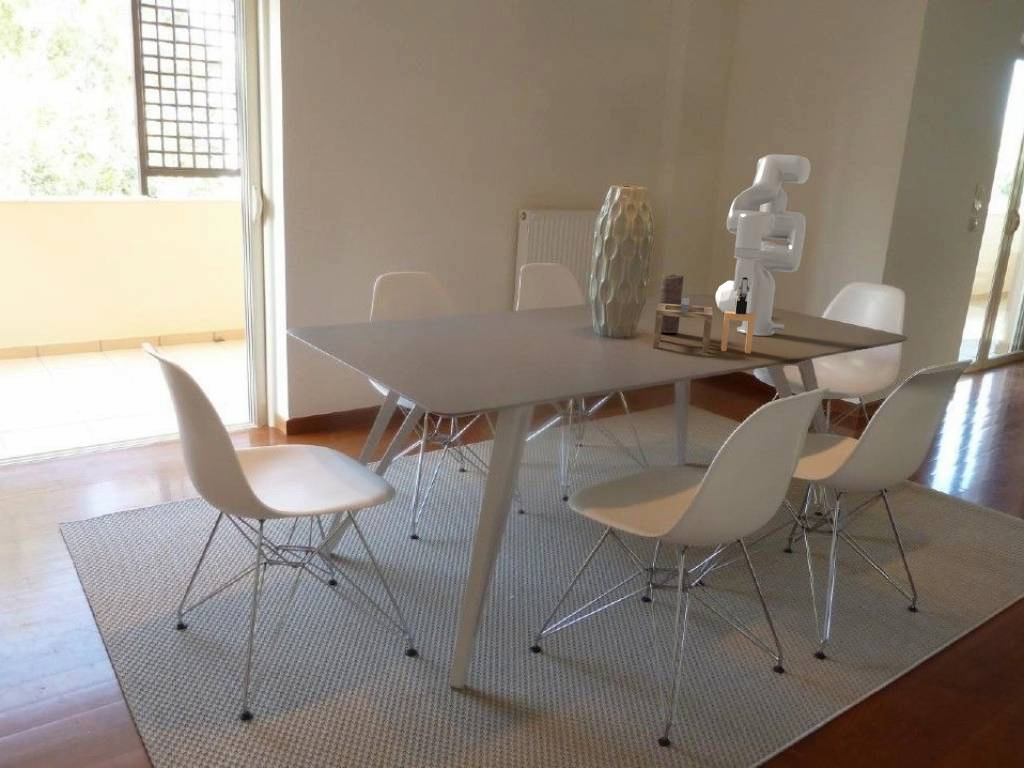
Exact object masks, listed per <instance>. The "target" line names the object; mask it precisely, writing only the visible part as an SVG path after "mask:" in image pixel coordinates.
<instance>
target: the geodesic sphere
mask: <svg viewBox="0 0 1024 768" xmlns="http://www.w3.org/2000/svg"><path fill="white" fill-rule="evenodd" d="M733 285H734V280H727V281H726V282H724V283H723V284H721V285H719V287H718V289H717V290H716V292H715V303H716V306H717V308H718V309H719V310H720V311H721V312H722V313H724V314H725V311H731V312H735V301H736V297H737V290H736V291H735V290H734V288H733Z"/></svg>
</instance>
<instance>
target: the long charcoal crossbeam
mask: <svg viewBox="0 0 1024 768" xmlns="http://www.w3.org/2000/svg"><path fill="white" fill-rule="evenodd" d="M690 300H691V299H690V297H682V298H681V311H680V312H685V313H688V311H689V306H690Z"/></svg>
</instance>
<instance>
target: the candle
mask: <svg viewBox="0 0 1024 768" xmlns="http://www.w3.org/2000/svg"><path fill="white" fill-rule="evenodd" d="M683 285H684V275H683V274H663V275H662V277H661V286H660V294H659V303H664V304H676V305H681V301H682V298H683V297H682V295H683V287H684V286H683ZM680 318H681V317H675V316H663V320H662V330H661V334H676V333H677V334H679V329H680V328H679V327H680V320H681V319H680Z"/></svg>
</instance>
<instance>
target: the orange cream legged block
mask: <svg viewBox="0 0 1024 768" xmlns="http://www.w3.org/2000/svg"><path fill="white" fill-rule="evenodd" d="M737 301H738V296H737V297H736V303H737ZM735 311H736V306H735ZM723 316H724V317H723V318H724V319H723V327H722V335H721V345H720V351H721V352H727V350H728V342H729V341H728V338H729V331H730V321H739V322H740V321H741V322H742V321H748V328H747V334H746V337H745V347H744V352H745V354H752V345H753V337H754V335H753V330H754V322H755V313H746V314H736V313H735V312H731V311H725V313H724V315H723Z"/></svg>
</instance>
